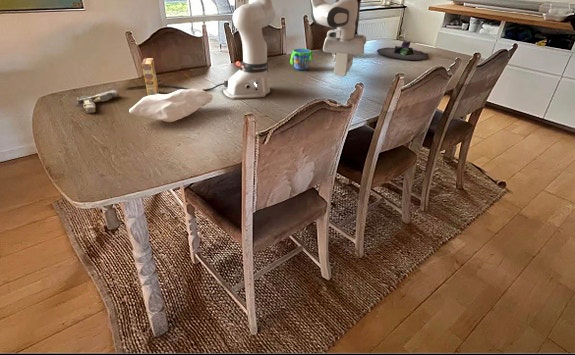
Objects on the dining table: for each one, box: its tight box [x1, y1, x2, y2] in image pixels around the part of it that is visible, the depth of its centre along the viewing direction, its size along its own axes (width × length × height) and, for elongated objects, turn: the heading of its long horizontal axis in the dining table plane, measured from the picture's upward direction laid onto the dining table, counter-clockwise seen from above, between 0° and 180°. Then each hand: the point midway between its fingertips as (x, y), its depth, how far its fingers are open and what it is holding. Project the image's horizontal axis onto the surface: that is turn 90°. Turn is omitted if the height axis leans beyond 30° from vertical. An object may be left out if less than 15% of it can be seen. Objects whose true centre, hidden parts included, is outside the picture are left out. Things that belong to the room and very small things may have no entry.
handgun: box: [76, 89, 120, 114], centre depth 155 cm, size 3×18×15 cm
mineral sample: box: [376, 40, 430, 61], centre depth 247 cm, size 35×35×9 cm
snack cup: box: [289, 48, 314, 71], centre depth 208 cm, size 16×10×10 cm
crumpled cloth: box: [129, 88, 214, 123], centre depth 147 cm, size 24×35×9 cm
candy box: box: [141, 57, 160, 96], centre depth 163 cm, size 9×4×15 cm, turn 13°
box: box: [333, 52, 354, 77], centre depth 190 cm, size 22×6×11 cm, turn 162°
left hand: (342, 62), depth 184 cm, fingers closed on box, 6 cm apart
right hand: (347, 54), depth 195 cm, fingers closed on box, 5 cm apart
